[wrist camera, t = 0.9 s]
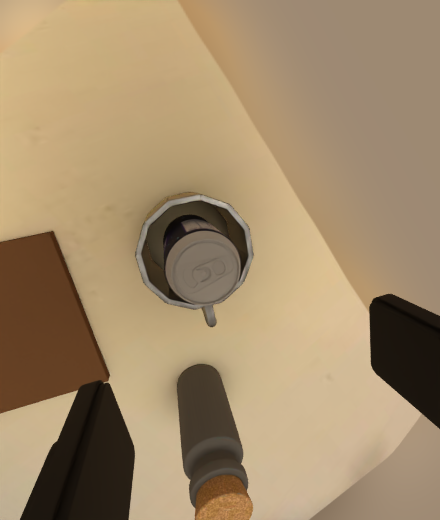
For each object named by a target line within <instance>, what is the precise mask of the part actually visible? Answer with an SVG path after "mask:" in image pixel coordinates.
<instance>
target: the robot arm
mask: <svg viewBox="0 0 440 520" xmlns="http://www.w3.org/2000/svg"><path fill="white" fill-rule="evenodd" d="M369 311H370V347H371V366H372V368H373V370H374V372H375V373H376V374H377V375H378V376H379V377H380V378H382V379H383V380H384V381H385V382H386V383H387V384H389V385H390V386H391V387H392V388H393V389H394V390H395V391H397V392H398V393H399V394H400V395H401V396H402V397H404V398H405V399H406V400H407V401H408V402H409V403H410V404H412V405H413V406H414V407H415V408H416V409H417V410H419V411H420V412H421V413H422V414H423V415H424V416H425V417H427V418H428V419H429V420H430V421H431V422H432V423H434V424H435V425H436V426H437V427H438V428H439V429H440V316H439V315H436V314H434V313H432V312H430V311H428V310H426V309H423V308H421V307H419V306H417V305H415V304H412V303H410V302H408V301H406V300H404V299H402V298H399V297H397V296H395V295H393V294H386V295H383V296H379V297H376V298H374V299H373V301H372V303H371V304H370V307H369ZM134 460H135V451H134V445H133V442H132V440H131V437H130V434H129V432H128V429H127V427H126V424H125V422H124V419H123V417H122V414H121V411H120V409H119V406H118V404H117V401H116V399H115V396H114V394H113V391H112V388H111V386H110V384H109V383H103V381H102V380H98V381H94V382H91V383H88V384H84V385H82V386H80V388H79V390H78V392H77V395H76V397H75V400H74V402H73V404H72V407H71V409H70V412H69V414H68V416H67V419H66V421H65V424H64V426H63V428H62V431H61V433H60V436H59V438H58V441H56V442H55V443H54V444H53V445H52V447H51V449H50V451H49V453H48V455H47V458H46V460H45V462H44V465H43V467H42V469H41V472H40V474H39V476H38V479H37V481H36V483H35V486H34V488H33V490H32V493H31V495H30V497H29V500H28V502H27V504H26V507H25V509H24V511H23V514H22V516H21V518H20V520H128V519H129V509H130V500H131V490H132V480H133V470H134Z"/></svg>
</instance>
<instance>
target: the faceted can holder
mask: <svg viewBox="0 0 440 520" xmlns="http://www.w3.org/2000/svg"><path fill="white" fill-rule="evenodd" d="M199 200H200V201H203V202H206V203H209V204H212V205H213V206H214V207H215V208H216V209H217V210H218V211H219V213H220V214H221V215H222V216H223V217H224V218H225V220H226V222H227V228H228V233H229V239H230V240H231V241H232V242H233V243H234V245H235V246H236V248H237V250H238V252H239V255H240V260H241V269H240V278H239V281H238V284H237V286H236V287H235V289H234V290H233V292H234V291H235V290H237V289H238V288H239V287H240V286H241V285H242V284H243V282H244V281H245V278H246V276H247V273H248V270H249V268H250V265H251V262H252V259H253V255H254V254H253V248H252V241H251V235H250V229H249V228H248V227H249V226H248V225H247V224H246V223H245V222H244V220H243V219H242V218H241V217H240V216H239V214H238V213H237V212H236V211H235V210H234V208H233V207H232V206H231V205H229V204H228V203H225V202H222V201H219V200H216V199H214V198H211V197H208V196H205V195H202V194H198V193H194V192H188V193H183V194H178V195H173V196H169V197H167V198H165V199H164V200H162V201H161V202H160V203H159V204H158V205H157V206H156V207H155V208H154V209H153V210H152V211H151V212H150V213H149V214H148V215H147V217H146V219H145V221H144V224H143V227H142V230H141V234H140V237H139V241H138V245H137V248H136V252H135V256H136V260H137V263H138V266H139V269H140V273H141V276H142V279H143V283H145V285H146V286H147V287H148V288H149V289H150V290H152V291H153V292H154V293H155V294H156V295H157V296H158V297H159V298H160V299H162V300H163V301H164V302H165V303H166V302H167V304H171V305H175V306H180V307H185V308H189V309H199V308H202V310H203V313H204V316H205V320H206V323H207V325H208V326H209V327H214V326H215V325H216V323H217V321H216V318H215V314H214V310H213V305H214V304H212V305H206V306H202V305H195V304H192V303H189V302H187V301H185V300H184V299H182V298H180V297H179V296H178V295H176V294H175V293H174V292H173V291H172V289H171V288H170V287H169V285H168V283H167V280H166V277H165V273H164V270H162V269H161V268H160V267H159V266H158V265H157V264H156V263H155V262H154V261H153V260H152V258H151V254H150V251H149V247H148V244H147V240H146V237H147V233H148V230H149V226H150V225H151V224H153V223H154V222H155V221H156V220H157V219H158V218H159V217H160V216H161V215H162V214H163V213H164V212H165V211H167V210H168V209H169V208H170V207H171V206H176V205H180V204H185V203H190V202H194V201H199ZM233 292H232V293H233ZM232 293H231V294H232ZM231 294H230V295H231ZM230 295H229V296H230ZM229 296H228V297H229ZM228 297H227V298H228ZM227 298H225V299H227ZM225 299H224V300H225ZM224 300H222V301H224ZM222 301H220V302H218V303H221V302H222ZM216 304H217V303H216Z"/></svg>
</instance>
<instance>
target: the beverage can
mask: <svg viewBox="0 0 440 520" xmlns="http://www.w3.org/2000/svg"><path fill="white" fill-rule="evenodd" d="M163 245H164V273H165V277H166V280H167V283H168V285H169V287H170V288H171V289H172V291H173V292H174V293H175V294H176V295H178V296H179V297H180V298H182V299H184V300H185V301H187V302H189V303H192V304H195V305H202V306H206V305H212V304H216V303H218V302H220V301H222V300H224V299H225V298H227V297H228V296H229V295H230V294H231V293H232V292H233V290H234V289H235V287H236V286H237V284H238V281H239V278H240V269H241V260H240V255H239V252H238V250H237V248H236V246H235V245H234V243H233V242H232V241H231V240H230V239H229V238H228V237H227V236H225V235H224V234H223V233H222V232H220V231H219V230H218V229H216V228H215V227H214V226H213V225H211V224H210V223H209V222H208V221H206V220H205V219H203V218H202V217H199V216H196V215H184V216H181V217H178V218H176V219H175V220H173V221H172V222H171V223H170V224H169V226H168V227H167V229H166V231H165V233H164V238H163Z"/></svg>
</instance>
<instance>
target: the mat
mask: <svg viewBox="0 0 440 520" xmlns="http://www.w3.org/2000/svg"><path fill="white" fill-rule="evenodd" d="M109 376H110V375H109V373H108V370H107V367H106V365H105V362H104V360H103V357H102V355H101V352H100V350H99V347H98V345H97V342H96V339H95V337H94V334H93V332H92V329H91V327H90V324H89V322H88V319H87V317H86V314H85V311H84V309H83V306H82V304H81V301H80V299H79V296H78V294H77V291H76V289H75V286H74V284H73V281H72V278H71V276H70V273H69V271H68V268H67V266H66V263H65V261H64V258H63V256H62V253H61V250H60V248H59V245H58V243H57V240H56V238H55V235H54V233H53V231H51V232H47V233H42V234H37V235H33V236H28V237H23V238H19V239H14V240H9V241H5V242H0V413H3V412H6V411H10V410H13V409H16V408H20V407H23V406H26V405H30V404H33V403H36V402H40V401H43V400H46V399H50V398H53V397H56V396H60V395H63V394H66V393H70V392H73V391H76V390H79V388H80V386H82V385H84V384H88V383H91V382H94V381H98V380H102V381H103V382H107V381H108V380H109Z"/></svg>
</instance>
